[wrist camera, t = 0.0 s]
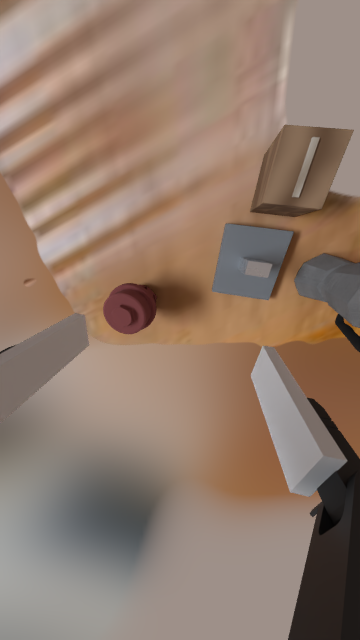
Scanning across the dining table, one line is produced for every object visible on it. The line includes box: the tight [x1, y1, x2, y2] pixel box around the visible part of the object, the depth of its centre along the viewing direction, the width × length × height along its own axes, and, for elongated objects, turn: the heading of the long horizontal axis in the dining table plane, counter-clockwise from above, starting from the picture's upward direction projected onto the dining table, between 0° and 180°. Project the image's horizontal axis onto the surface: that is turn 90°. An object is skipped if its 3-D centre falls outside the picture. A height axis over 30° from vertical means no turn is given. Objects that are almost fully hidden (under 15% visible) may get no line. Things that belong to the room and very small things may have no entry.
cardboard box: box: [250, 125, 354, 217], centre depth 25 cm, size 8×8×8 cm
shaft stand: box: [212, 224, 293, 300], centre depth 31 cm, size 13×12×8 cm
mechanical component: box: [103, 283, 157, 334], centre depth 36 cm, size 12×10×10 cm
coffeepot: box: [294, 254, 360, 352], centre depth 27 cm, size 15×9×18 cm, turn 9°
